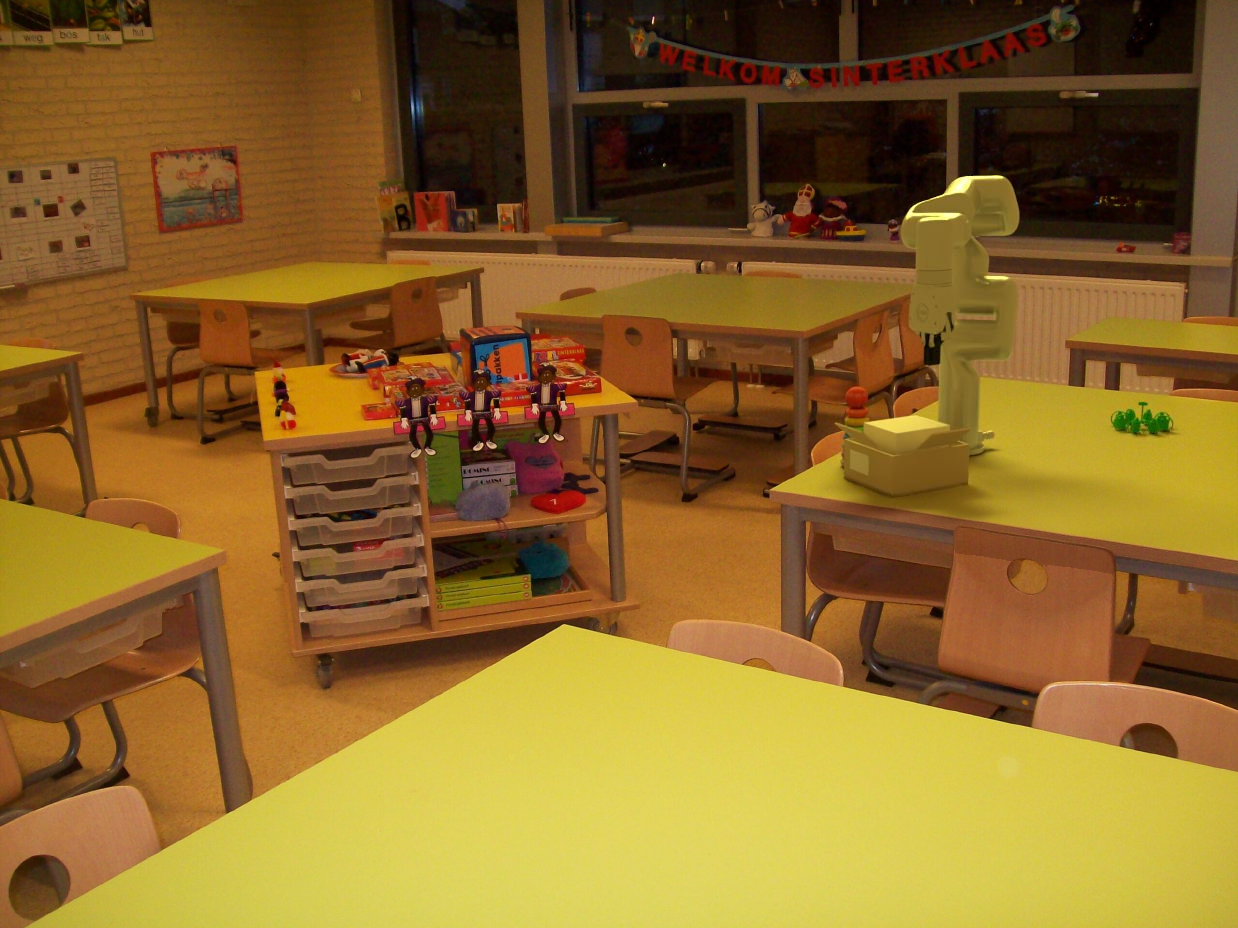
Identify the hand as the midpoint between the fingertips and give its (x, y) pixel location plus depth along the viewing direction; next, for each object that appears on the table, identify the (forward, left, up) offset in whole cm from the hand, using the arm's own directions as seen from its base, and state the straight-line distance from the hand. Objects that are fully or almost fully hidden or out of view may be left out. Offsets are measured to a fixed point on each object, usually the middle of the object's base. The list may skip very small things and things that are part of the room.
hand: (931, 364), depth 259 cm
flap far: (+14, -6, -15) cm, 21 cm away
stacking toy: (+3, -22, -27) cm, 35 cm away
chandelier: (-78, -16, -28) cm, 84 cm away
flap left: (+1, +5, -15) cm, 16 cm away
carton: (+2, -6, -27) cm, 28 cm away
